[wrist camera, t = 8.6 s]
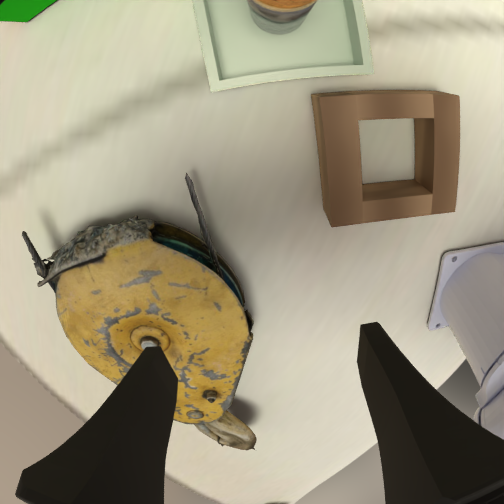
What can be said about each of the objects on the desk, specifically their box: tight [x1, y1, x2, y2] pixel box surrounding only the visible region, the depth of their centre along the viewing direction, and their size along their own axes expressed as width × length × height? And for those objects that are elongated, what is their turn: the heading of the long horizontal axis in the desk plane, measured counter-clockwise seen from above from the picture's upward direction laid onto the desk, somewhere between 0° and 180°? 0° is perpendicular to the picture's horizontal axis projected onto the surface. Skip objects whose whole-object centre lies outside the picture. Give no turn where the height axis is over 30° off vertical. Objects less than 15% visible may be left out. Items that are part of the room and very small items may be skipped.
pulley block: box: [22, 173, 256, 450], centre depth 24 cm, size 14×6×30 cm
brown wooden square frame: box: [311, 90, 460, 227], centre depth 16 cm, size 8×7×2 cm
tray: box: [192, 0, 374, 92], centre depth 12 cm, size 8×8×2 cm
